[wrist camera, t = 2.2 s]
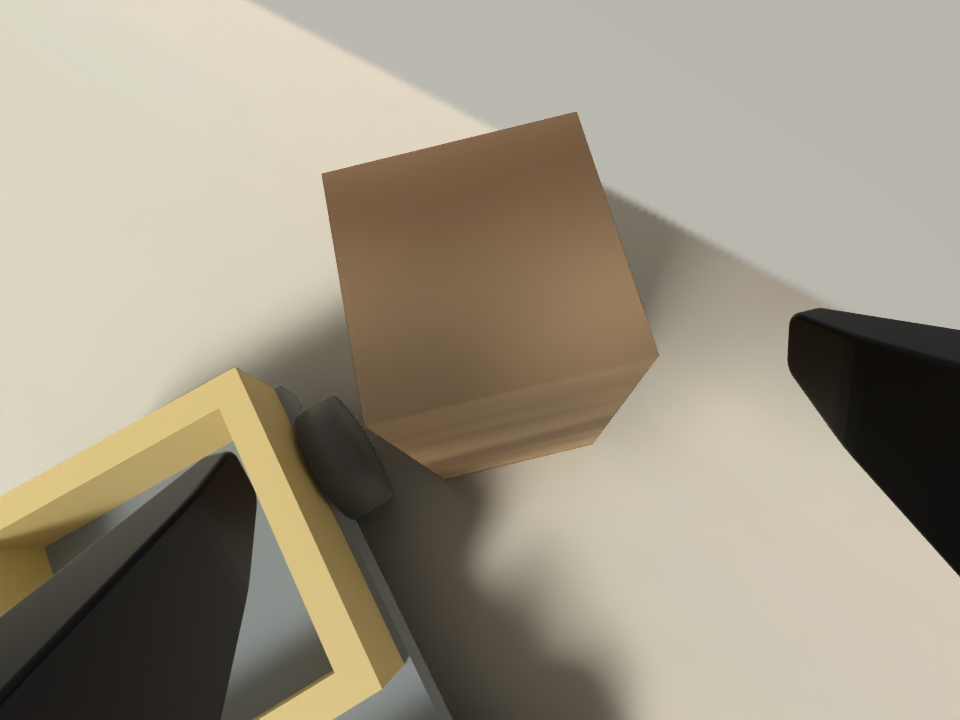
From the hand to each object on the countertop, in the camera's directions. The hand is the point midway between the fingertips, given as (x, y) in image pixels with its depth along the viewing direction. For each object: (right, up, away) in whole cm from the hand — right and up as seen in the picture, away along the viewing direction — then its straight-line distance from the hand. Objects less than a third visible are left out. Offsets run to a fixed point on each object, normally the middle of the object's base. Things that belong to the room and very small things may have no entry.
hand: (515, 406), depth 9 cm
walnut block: (0, 0, +11) cm, 11 cm away
